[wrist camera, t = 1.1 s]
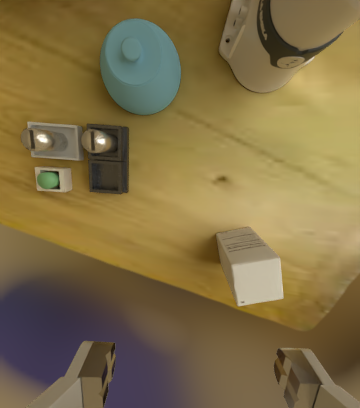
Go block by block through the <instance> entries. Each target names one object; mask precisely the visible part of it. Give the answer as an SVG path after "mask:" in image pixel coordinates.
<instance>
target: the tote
mask: <svg viewBox="0 0 360 408" xmlns="http://www.w3.org/2000/svg"><path fill="white" fill-rule="evenodd" d="M27 123H28V128H36V129H42V130H48V131H54V132H60V133H62V134H64V135H65V136H66V138H67V140H68V147H67V149H66V150H64V151H31V157H39V158H52V159H66V160H84V153H83V145H82V142H81V138H82V135H83V133H82V127H81V126H77V125H64V124H51V123H38V122H27Z"/></svg>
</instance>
